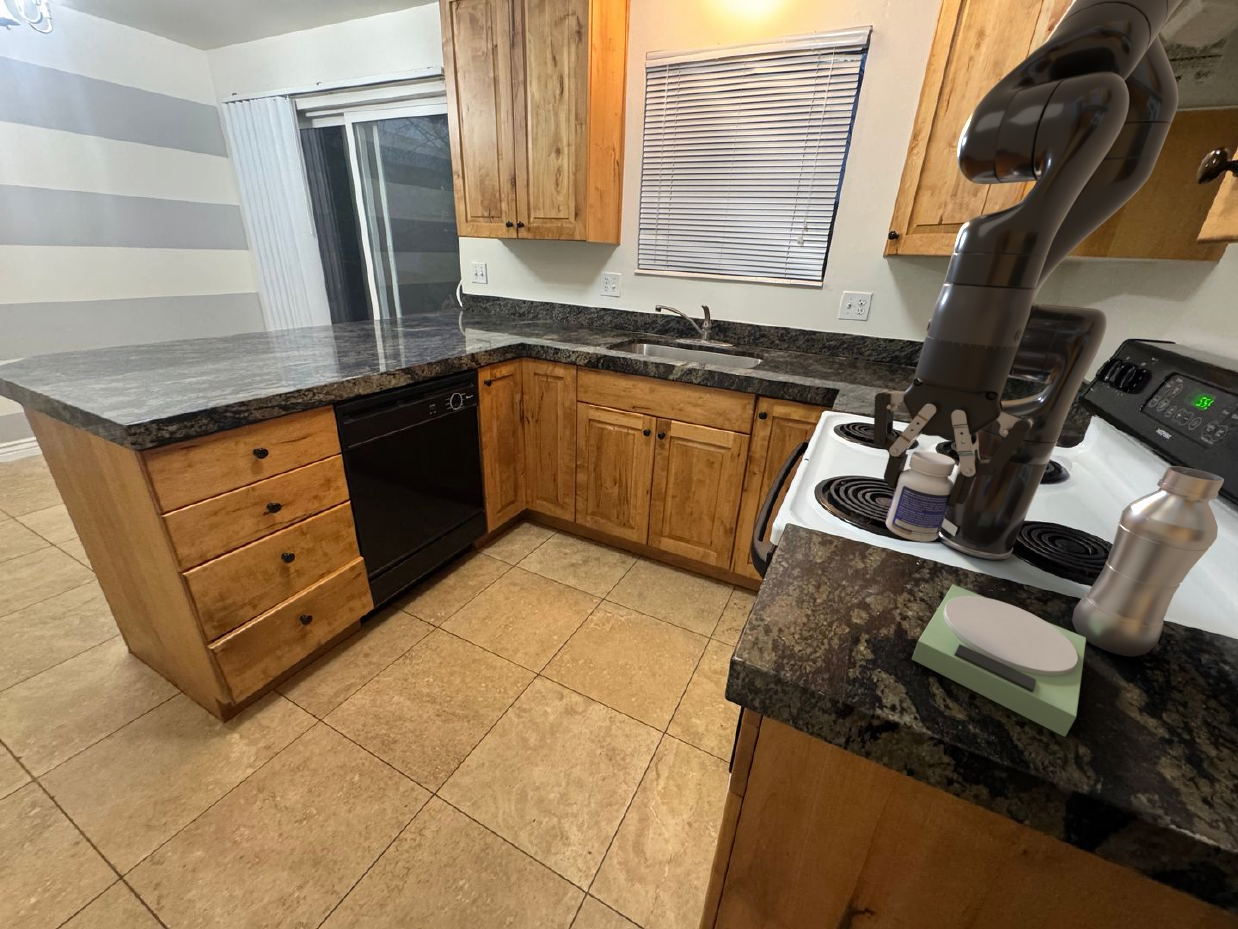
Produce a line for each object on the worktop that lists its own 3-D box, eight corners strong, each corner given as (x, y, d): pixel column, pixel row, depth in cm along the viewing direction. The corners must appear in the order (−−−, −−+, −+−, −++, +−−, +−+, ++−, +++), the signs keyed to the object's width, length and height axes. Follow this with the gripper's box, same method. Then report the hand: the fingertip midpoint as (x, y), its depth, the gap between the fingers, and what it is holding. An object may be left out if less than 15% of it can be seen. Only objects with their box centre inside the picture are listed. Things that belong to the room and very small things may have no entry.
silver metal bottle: (1164, 671, 50) (1274, 492, 43) (1088, 658, 51) (1182, 482, 44) (1118, 629, 56) (1207, 465, 48) (1051, 618, 57) (1128, 457, 50)
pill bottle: (947, 544, 53) (975, 468, 50) (899, 542, 53) (922, 466, 50) (920, 520, 58) (943, 449, 55) (876, 517, 58) (896, 447, 55)
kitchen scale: (946, 600, 59) (954, 579, 58) (1076, 655, 52) (1088, 632, 50) (911, 659, 50) (920, 635, 48) (1065, 737, 42) (1079, 711, 41)
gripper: (1072, 344, 45) (1007, 508, 52) (903, 324, 54) (866, 466, 61) (1064, 352, 40) (993, 532, 47) (879, 329, 49) (841, 483, 56)
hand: (921, 494), depth 54 cm, fingers closed on pill bottle, 5 cm apart
